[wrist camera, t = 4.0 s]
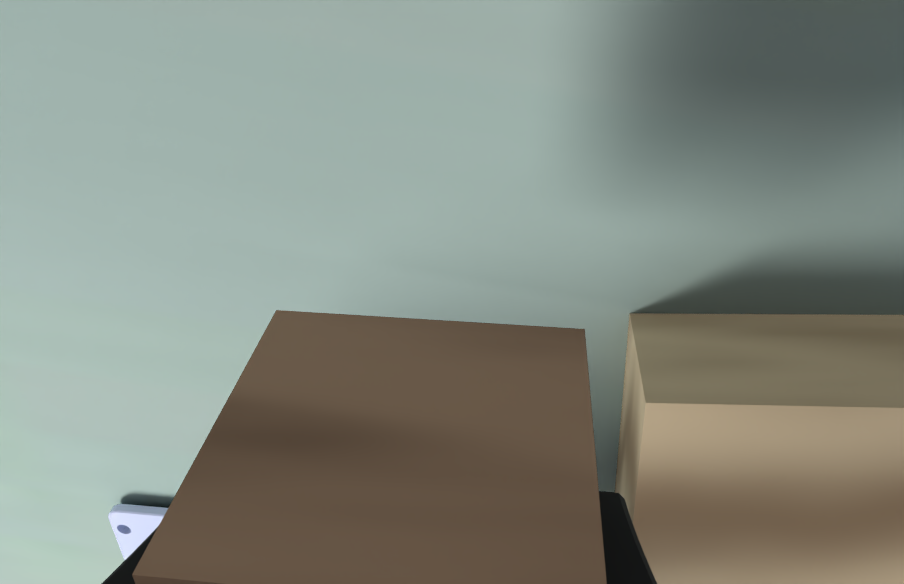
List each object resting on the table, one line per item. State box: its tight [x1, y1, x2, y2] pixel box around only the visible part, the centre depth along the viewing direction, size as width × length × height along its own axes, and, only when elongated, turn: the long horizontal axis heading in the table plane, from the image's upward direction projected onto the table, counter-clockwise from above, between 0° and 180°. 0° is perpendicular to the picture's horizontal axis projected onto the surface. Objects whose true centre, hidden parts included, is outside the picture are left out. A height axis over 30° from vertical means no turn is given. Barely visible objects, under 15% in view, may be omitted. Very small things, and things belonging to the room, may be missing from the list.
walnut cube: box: [132, 310, 607, 584], centre depth 11 cm, size 5×5×5 cm
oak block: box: [615, 313, 904, 584], centre depth 20 cm, size 8×8×4 cm
